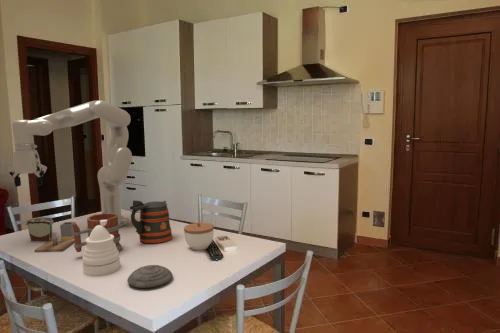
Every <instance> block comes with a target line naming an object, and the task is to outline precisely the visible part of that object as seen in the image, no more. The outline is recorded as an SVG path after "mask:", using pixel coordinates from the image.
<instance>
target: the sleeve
mask: <svg viewBox="0 0 500 333" xmlns="http://www.w3.org/2000/svg"><path fill="white" fill-rule="evenodd" d="M74 223H77V222H76V221H64V222H63V223H60V225H59V227H60V228H59V229H60V230H59V231H60V239H61V240H74V239H75V238H74V235H73V232H74V228H73V225H72V224H74ZM61 240H60V241H61Z"/></svg>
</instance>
